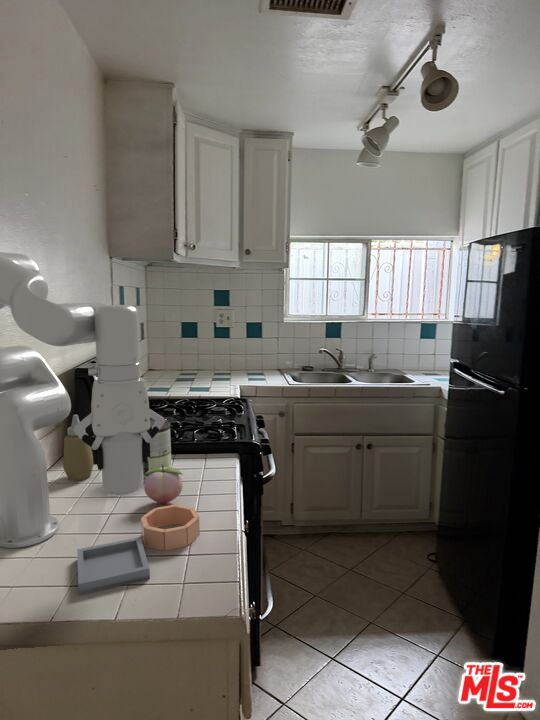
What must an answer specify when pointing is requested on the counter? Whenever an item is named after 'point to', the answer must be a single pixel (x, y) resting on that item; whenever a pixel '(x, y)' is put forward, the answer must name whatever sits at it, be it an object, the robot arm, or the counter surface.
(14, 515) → the robot arm
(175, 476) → the decorative fruit
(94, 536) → the counter surface
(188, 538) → the terracotta ring
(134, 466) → the can
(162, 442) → the coffee can
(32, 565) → the counter surface
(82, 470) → the squeeze bottle
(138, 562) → the slate tray
